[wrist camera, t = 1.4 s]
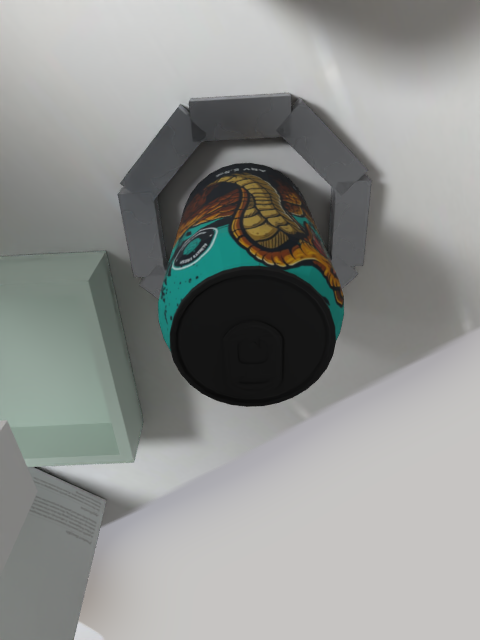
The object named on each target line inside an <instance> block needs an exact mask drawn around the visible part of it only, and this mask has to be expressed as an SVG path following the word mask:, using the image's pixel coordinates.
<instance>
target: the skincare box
mask: <svg viewBox="0 0 480 640" xmlns="http://www.w3.org/2000/svg"><path fill="white" fill-rule="evenodd" d="M28 470H29V472H30V474H31V477H32V479H33V481H34V484H35V486H36V488H37V491H38V492H37V494H36V497H35V499H34V501H33V503H32V506H31V508H30V510H29V512H28V515H27V517H26V519H25V521H24V524H23V526H22V528H21V530H20V533H19V535H18V537H17V539H16V542H15V544H14V546H13V549H12V551H11V553H10V555H9V558H8V560H7V562H6V564H5V567H4V569H3V571H2V573H1V576H0V640H74V636H75V632H76V628H77V624H78V619H79V615H80V611H81V607H82V602H83V598H84V594H85V590H86V586H87V582H88V577H89V573H90V569H91V565H92V560H93V556H94V552H95V548H96V544H97V539H98V535H99V531H100V527H101V522H102V518H103V514H104V509H105V505H106V500H105V499H103V498H101V497H98V496H96V495H94V494H92V493H89V492H87V491H85V490H83V489H81V488H78V487H76V486H74V485H72V484H69V483H67V482H65V481H63V480H61V479H58V478H56V477H54V476H52V475H49V474H47V473H45V472H43V471H41V470H39V469H36V468H34V467H28Z"/></svg>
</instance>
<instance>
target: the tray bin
mask: <svg viewBox="0 0 480 640" xmlns="http://www.w3.org/2000/svg"><path fill="white" fill-rule="evenodd" d="M0 420H7V421H8V423H9V426H10V428H11V430H12V433H13V435H14V437H15V440H16V442H17V444H18V447H19V449H20V451H21V453H22V456H23V458H24V460H25V463H26V465H27V467H41V466H64V465H87V464H110V463H133V462H134V461H135V457H136V452H137V448H138V444H139V439H140V435H141V431H142V427H143V422H144V421H143V417H142V412H141V407H140V403H139V398H138V394H137V389H136V385H135V380H134V376H133V371H132V367H131V362H130V358H129V353H128V349H127V344H126V340H125V335H124V331H123V326H122V322H121V317H120V313H119V308H118V304H117V299H116V295H115V290H114V286H113V281H112V276H111V272H110V267H109V263H108V258H107V254H106V251H95V252H76V253H56V254H37V255H18V256H0Z"/></svg>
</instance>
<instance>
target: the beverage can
mask: <svg viewBox="0 0 480 640" xmlns="http://www.w3.org/2000/svg"><path fill="white" fill-rule="evenodd" d="M158 314H159V323H160V327H161V330H162V334H163V338H164V340H165V342H166V344H167V346H168V347H169V349H170V351H171V353H172V357H173V361H174V363H175V364H176V366H177V368H178V370H179V372H180V373H181V375H182V376H183V377H184V378H185V379H186V380H187V381H188V383H189V384H190V385H191V386H193V387H194V388H196V389H197V390H198V391H200V392H201V393H202V394H204V395H206V396H208V397H210V398H212V399H214V400H217V401H220V402H224V403H227V404H230V405H238V406H246V407H250V406H265V405H270V404H275V403H279V402H282V401H285V400H287V399H290V398H293V397H295V396H296V395H298V394H300V393H301V392H303V391H305V390H306V389H308V388H309V387H310V386H311V385H312V384H313V383H315V382H316V381H317V380H318V379H319V378H320V376H321V375H322V374H323V372H324V371H325V370H326V369H327V367H328V365H329V362H330V360H331V358H332V356H333V353H334V348H335V343H336V340H337V338H338V336H339V333H340V330H341V326H342V321H343V316H344V296H343V293H342V289H341V286H340V282H339V279H338V277H337V274H336V272H335V270H334V267H333V265H332V263H331V260H330V258H329V255H328V253H327V251H326V248H325V246H324V244H323V241H322V239H321V237H320V234H319V232H318V230H317V227H316V225H315V223H314V220H313V218H312V215H311V213H310V211H309V208H308V206H307V204H306V201H305V199H304V198H303V196H302V194H301V192H300V191H299V189H298V188H297V187H296V186H295V184H294V183H293V182H292V181H291V180H290V179H289V178H287V177H286V176H285V175H283V174H282V173H280V172H279V171H277V170H274V169H272V168H270V167H267V166H264V165H259V164H253V163H242V164H234V165H230V166H226V167H222V168H220V169H219V170H217V171H215V172H213V173H211V174H209V175H208V176H207V177H206V178H204V179H203V180H202V181H201V182H200V183H199V184H198V185H197V186H196V188H195V189H194V190H193V191H192V193H191V194H190V196H189V198H188V201H187V203H186V205H185V208H184V211H183V215H182V218H181V222H180V225H179V229H178V232H177V236H176V239H175V242H174V246H173V249H172V253H171V256H170V260H169V263H168V267H167V270H166V274H165V277H164V281H163V284H162V288H161V293H160V297H159V302H158Z"/></svg>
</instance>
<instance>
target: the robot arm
mask: <svg viewBox="0 0 480 640" xmlns="http://www.w3.org/2000/svg"><path fill="white" fill-rule="evenodd" d="M37 492H38V491H37V488H36V486H35V484H34V481H33V479H32V477H31V474H30V472H29V470H28V467H27V465H26V463H25V460H24V458H23V456H22V453H21V451H20V449H19V447H18V444H17V442H16V440H15V437H14V435H13V433H12V430H11V428H10V426H9V423H8V421H7V420H0V576H1V573H2V571H3V569H4V567H5V564H6V562H7V560H8V558H9V555H10V553H11V551H12V549H13V546H14V544H15V542H16V539H17V537H18V535H19V533H20V530H21V528H22V526H23V524H24V521H25V519H26V517H27V515H28V512H29V510H30V508H31V506H32V503H33V501H34V499H35V497H36V494H37Z"/></svg>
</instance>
